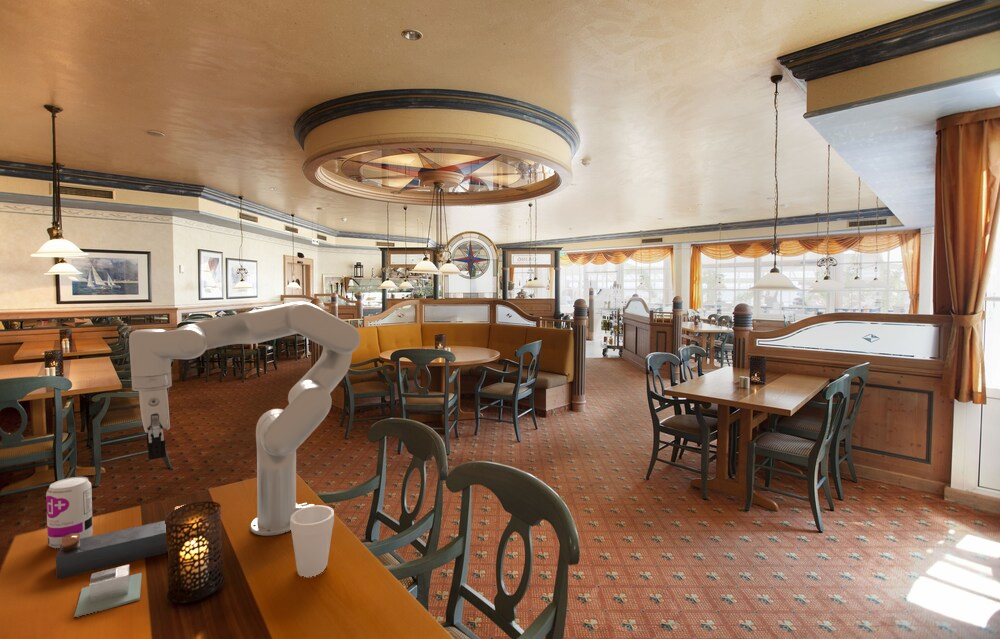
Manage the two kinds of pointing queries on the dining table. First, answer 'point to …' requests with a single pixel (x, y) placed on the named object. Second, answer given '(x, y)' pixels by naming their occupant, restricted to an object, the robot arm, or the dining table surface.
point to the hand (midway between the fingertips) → (156, 452)
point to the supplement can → (69, 509)
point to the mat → (87, 608)
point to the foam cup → (312, 538)
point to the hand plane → (109, 548)
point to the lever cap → (109, 584)
